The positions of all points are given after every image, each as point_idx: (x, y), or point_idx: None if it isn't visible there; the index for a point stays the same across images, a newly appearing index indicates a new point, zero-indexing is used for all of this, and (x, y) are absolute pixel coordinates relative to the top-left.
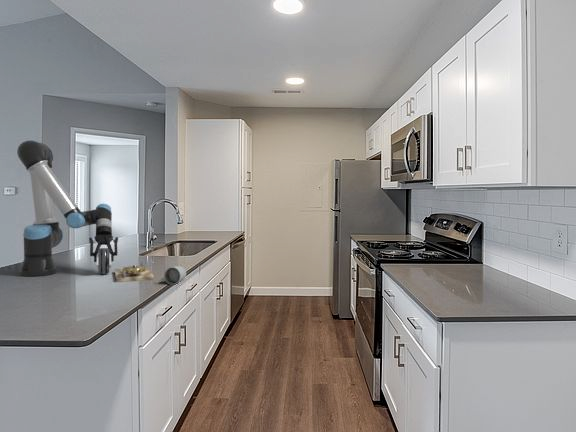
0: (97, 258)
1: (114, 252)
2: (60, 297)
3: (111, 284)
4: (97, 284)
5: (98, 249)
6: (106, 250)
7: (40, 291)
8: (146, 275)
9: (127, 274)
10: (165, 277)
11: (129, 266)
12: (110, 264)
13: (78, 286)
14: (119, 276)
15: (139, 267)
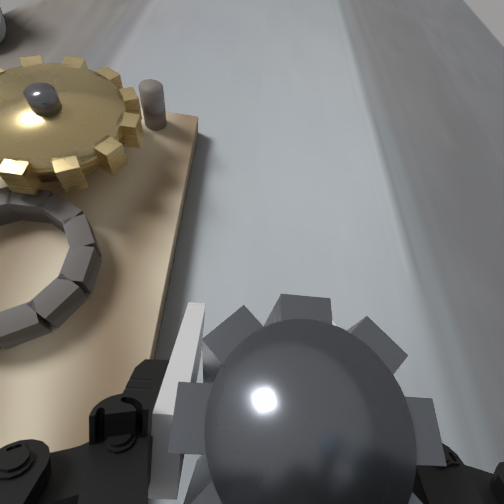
0: None
1: (54, 485)
2: (386, 36)
3: (229, 104)
4: (288, 128)
5: (426, 400)
6: (252, 324)
7: (479, 118)
8: None
9: (100, 195)
10: None
11: (59, 161)
12: (195, 304)
13: (364, 129)
14: (168, 160)
15: (10, 97)
